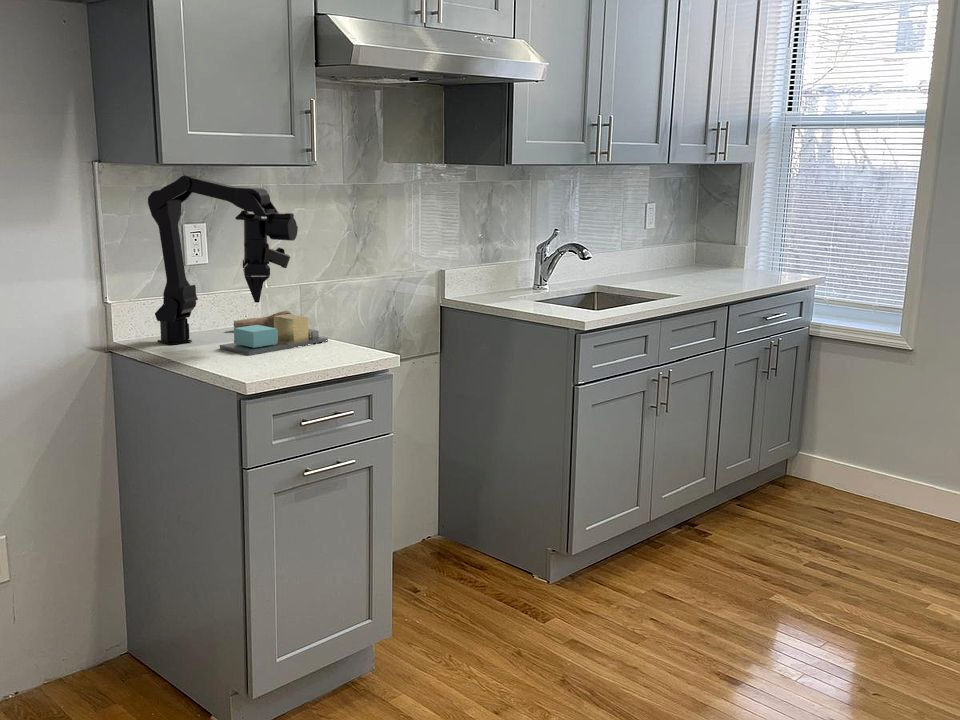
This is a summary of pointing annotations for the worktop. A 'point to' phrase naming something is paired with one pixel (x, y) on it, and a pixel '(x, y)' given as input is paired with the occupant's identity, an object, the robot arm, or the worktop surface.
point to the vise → (274, 345)
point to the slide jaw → (255, 336)
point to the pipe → (259, 320)
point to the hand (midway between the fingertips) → (256, 299)
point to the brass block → (291, 327)
